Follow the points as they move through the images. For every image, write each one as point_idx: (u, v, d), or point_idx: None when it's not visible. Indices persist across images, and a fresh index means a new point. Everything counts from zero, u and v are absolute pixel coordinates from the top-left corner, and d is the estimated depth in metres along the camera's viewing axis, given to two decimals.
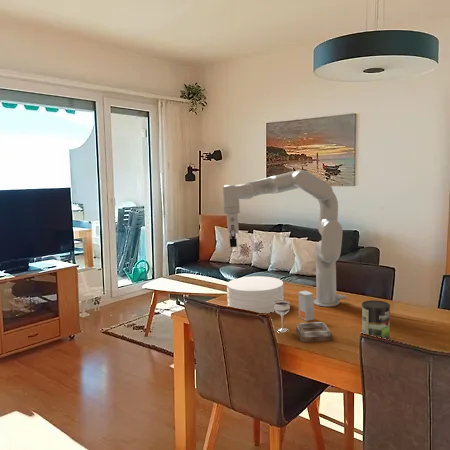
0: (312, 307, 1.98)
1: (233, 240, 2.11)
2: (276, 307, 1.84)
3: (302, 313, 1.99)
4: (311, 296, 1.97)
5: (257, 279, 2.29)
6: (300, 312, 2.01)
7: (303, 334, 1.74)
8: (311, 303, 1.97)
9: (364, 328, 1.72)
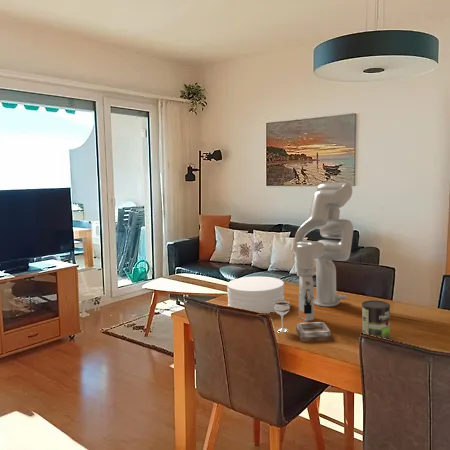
0: (312, 307, 1.98)
1: (308, 306, 1.95)
2: (276, 307, 1.84)
3: (302, 313, 1.99)
4: None
5: (257, 279, 2.29)
6: (300, 312, 2.01)
7: (303, 334, 1.74)
8: (311, 303, 1.97)
9: (364, 328, 1.72)
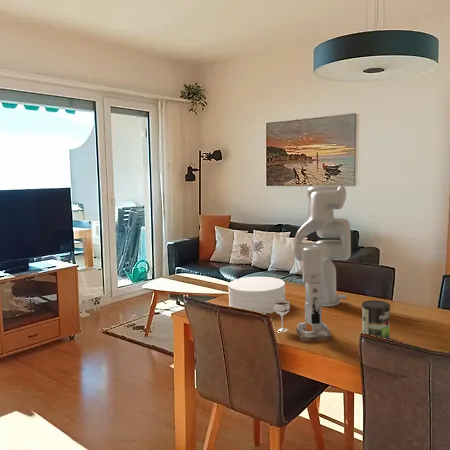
0: (320, 320, 1.77)
1: (316, 316, 1.73)
2: (276, 307, 1.84)
3: (309, 326, 1.78)
4: (319, 307, 1.76)
5: (258, 279, 2.28)
6: (306, 325, 1.80)
7: (303, 334, 1.74)
8: None
9: (364, 328, 1.72)
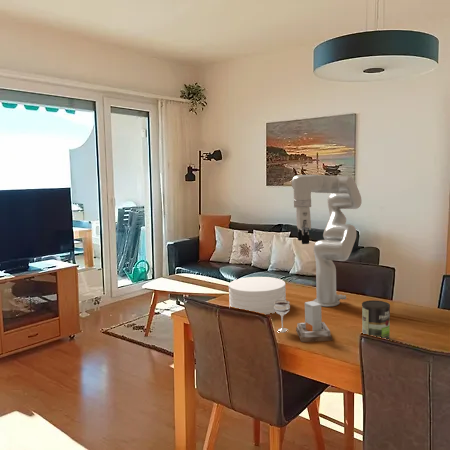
0: (320, 320, 1.77)
1: (305, 236, 1.93)
2: (276, 307, 1.84)
3: (309, 326, 1.78)
4: (319, 307, 1.76)
5: (259, 279, 2.28)
6: (306, 325, 1.80)
7: (303, 334, 1.74)
8: (319, 315, 1.76)
9: (364, 328, 1.72)
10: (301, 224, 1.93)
